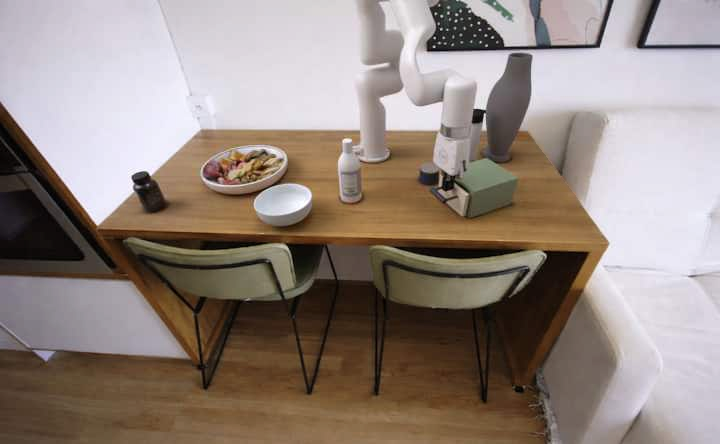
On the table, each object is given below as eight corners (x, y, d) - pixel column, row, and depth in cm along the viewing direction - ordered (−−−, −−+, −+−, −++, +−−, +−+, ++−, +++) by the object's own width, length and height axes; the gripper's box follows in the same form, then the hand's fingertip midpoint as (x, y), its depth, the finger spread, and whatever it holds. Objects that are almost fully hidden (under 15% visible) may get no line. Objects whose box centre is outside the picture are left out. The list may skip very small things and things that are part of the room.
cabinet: (469, 218, 100) (474, 191, 94) (441, 194, 110) (445, 169, 104) (511, 203, 105) (518, 177, 99) (481, 182, 115) (486, 157, 109)
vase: (471, 153, 131) (488, 54, 109) (494, 144, 136) (515, 47, 114) (499, 167, 122) (524, 62, 100) (522, 156, 127) (551, 54, 105)
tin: (421, 186, 115) (422, 173, 111) (417, 176, 120) (418, 163, 117) (440, 184, 115) (442, 171, 112) (435, 174, 120) (437, 162, 117)
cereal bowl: (311, 197, 112) (308, 179, 108) (318, 228, 99) (315, 209, 95) (258, 206, 109) (253, 188, 105) (259, 239, 97) (253, 220, 92)
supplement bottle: (142, 205, 113) (125, 174, 105) (164, 198, 116) (149, 167, 108) (146, 215, 108) (129, 183, 101) (169, 207, 111) (153, 175, 104)
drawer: (446, 221, 98) (449, 200, 93) (422, 199, 107) (424, 179, 102) (501, 203, 104) (507, 182, 99) (474, 183, 113) (478, 163, 108)
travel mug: (476, 169, 122) (487, 114, 109) (457, 168, 123) (465, 113, 110) (475, 160, 126) (485, 107, 114) (457, 159, 128) (464, 106, 115)
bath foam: (365, 199, 110) (363, 142, 97) (345, 206, 107) (341, 147, 95) (356, 189, 115) (353, 133, 102) (337, 195, 112) (331, 138, 100)
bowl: (271, 149, 141) (267, 131, 136) (303, 179, 121) (299, 159, 116) (196, 172, 129) (189, 153, 124) (218, 209, 109) (210, 189, 104)
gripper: (426, 122, 92) (422, 180, 104) (461, 143, 81) (452, 206, 93) (450, 116, 94) (443, 174, 106) (486, 136, 83) (474, 198, 95)
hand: (447, 189), depth 99 cm, fingers closed
